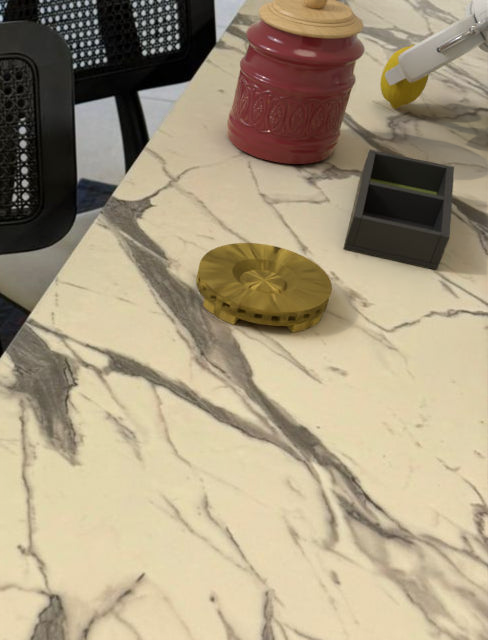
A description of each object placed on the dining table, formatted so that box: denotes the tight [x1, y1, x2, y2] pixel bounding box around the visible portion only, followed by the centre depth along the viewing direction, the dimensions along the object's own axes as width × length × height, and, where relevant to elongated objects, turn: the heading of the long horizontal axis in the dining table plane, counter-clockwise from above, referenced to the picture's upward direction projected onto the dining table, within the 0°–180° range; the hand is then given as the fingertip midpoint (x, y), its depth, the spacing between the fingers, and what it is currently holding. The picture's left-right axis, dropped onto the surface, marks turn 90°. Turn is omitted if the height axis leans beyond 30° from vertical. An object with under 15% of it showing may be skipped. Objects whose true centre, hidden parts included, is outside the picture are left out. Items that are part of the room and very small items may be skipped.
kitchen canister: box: [226, 0, 366, 165], centre depth 115 cm, size 13×13×18 cm
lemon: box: [379, 43, 430, 110], centre depth 129 cm, size 6×6×8 cm
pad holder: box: [343, 149, 455, 271], centre depth 106 cm, size 9×17×4 cm, turn 160°
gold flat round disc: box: [195, 242, 333, 333], centre depth 93 cm, size 12×12×2 cm
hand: (401, 72), depth 129 cm, fingers closed on lemon, 5 cm apart
